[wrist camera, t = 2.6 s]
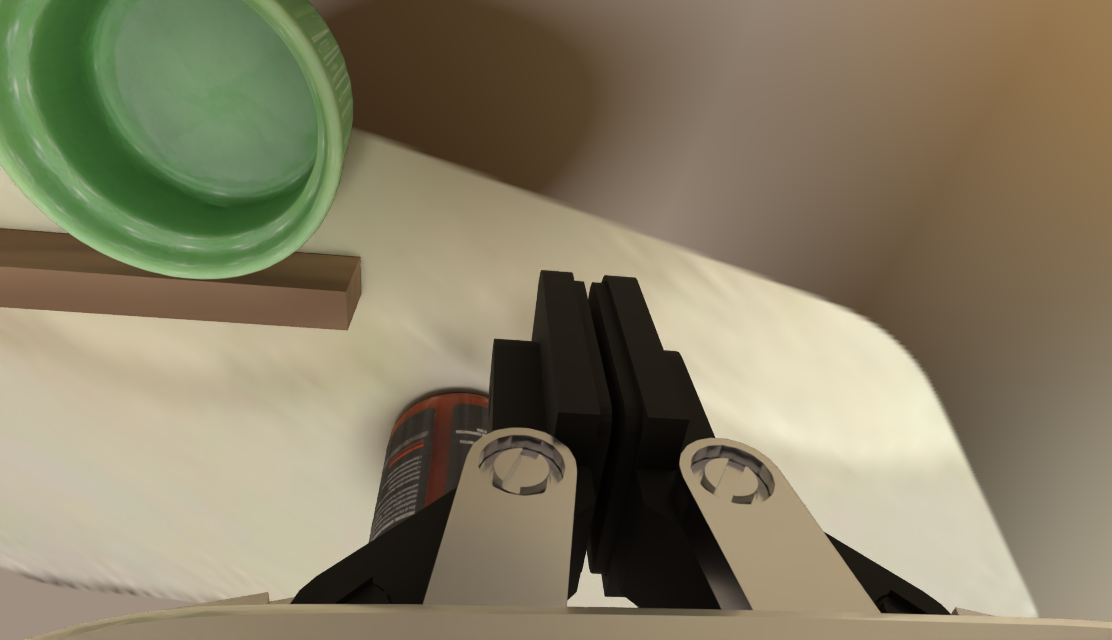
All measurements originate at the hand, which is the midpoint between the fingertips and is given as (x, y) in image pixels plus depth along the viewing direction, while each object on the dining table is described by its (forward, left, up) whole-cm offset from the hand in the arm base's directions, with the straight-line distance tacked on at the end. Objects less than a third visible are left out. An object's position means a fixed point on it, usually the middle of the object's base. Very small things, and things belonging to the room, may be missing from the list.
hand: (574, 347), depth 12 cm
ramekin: (-1, -10, -12) cm, 16 cm away
